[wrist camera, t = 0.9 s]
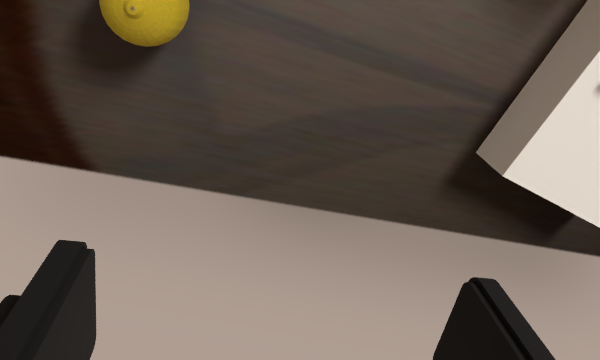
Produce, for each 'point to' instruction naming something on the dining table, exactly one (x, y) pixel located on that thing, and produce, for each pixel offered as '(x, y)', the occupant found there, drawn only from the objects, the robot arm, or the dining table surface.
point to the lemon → (145, 19)
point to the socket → (557, 123)
